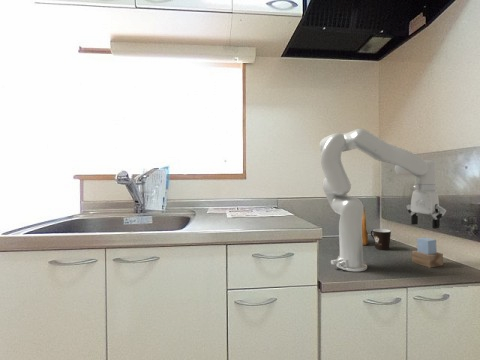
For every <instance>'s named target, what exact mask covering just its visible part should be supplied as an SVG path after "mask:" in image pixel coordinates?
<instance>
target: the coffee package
mask: <svg viewBox="0 0 480 360" xmlns="http://www.w3.org/2000/svg"><path fill="white" fill-rule="evenodd" d="M363 208H364V211H363V218H362V244H363V246H366V245H367V244H369V242H368V241H369V240H368V238H369V237H368V235H369V233H368V231H367V220H366V210H365V206H363Z"/></svg>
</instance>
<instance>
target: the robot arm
mask: <svg viewBox="0 0 480 360" xmlns="http://www.w3.org/2000/svg"><path fill="white" fill-rule="evenodd" d="M318 148H319V151H321V154H320V166H321V169H322V172H323V174H324V176H325V177H324V178H323V181H322V190H323V192H324V194H325V196H326V199H327V201H328V204H329V205H330V208H331V209H332V211H333V212H335V213H336V214H338V215H340V216H339V217H340V218H339V221H338V233H339V234H338V235H339V237H338V240H339V241H338V242H339V244H338V245H339V255H338V256H337V258H336V259H331V260H330V264H331V265H336V267H337V268H338V269H340V270H344V271H348V272H364V271H366V270H367V269H368V265H367V263H365V262H364V254H363V251H364V249H363V247H364V245H363V244H362V218H363V211H364V210H365V207H364V205H363V203H362V201H361V200H360V199H359V198H357V197H355V196H353V195H352V196H351V195H348V193H349V192H350V191H351V187H352V184H351V181H350V178H349V177H348V174H347V172H346V170H345V168H344V166H343V162H342V153H343V152H347V151H351V150H356V149H357V150H359V151H361V152H363V153H364V154H366V155H367V156H369V157H370V158H372V159H373V160H375V161H378V162H381V163H387V164H393V165H395V166H394V172H395V174H397V175H398V176H399V177H404V178H414V185H413V189H414V190H413V191H412V194H411V195H412V196H411V201H410V204H409V203H408V204H407V205H406V206H405V207H406V209H407V213H409V216H410V217H411V219H410V220H411V225H412V226H413V225H418V224H419V223H418V222H419V221H418V220H419V217H418V214H421V215H422V214H423V215H431V217H432V225H431V227H432V229H440V221H441V219H442V218H443V217H444V216H445V214H446V212H447V209H445V208H444V207H442V206H441V205H440V199H439V195H438V191H437V185H436V183H437V181H436V179H437V174H436V173H437V172H436V171H437V164H436V161H435V160H430V159H429V160H424V159H423V158H422V157H420V156H419V155H417V154H415V153H413V152H412V151H409V150H407V149H404V148H402V147H398V146H396V145H392V144H390V143H388V142H386V141H385V140H383V139H381V138H379V137H378V136H376V135H374V134H373V133H371V132H370V131H369V130H366V129H363V128H357V129H356V128H355V129H353V130H351V131H348V132H344V133H341V132H335V133H332V134H330V135H328V136H325V137H323V138H322V139H321V140H320V141H319V147H318ZM363 207H364V208H363Z"/></svg>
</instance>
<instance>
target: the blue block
mask: <svg viewBox="0 0 480 360" xmlns="http://www.w3.org/2000/svg"><path fill="white" fill-rule="evenodd" d="M416 244H417V245H416V246H417V247H416V249H417V250H416V251H417V252H420V253H424V254H428V255H430V254H435V253H437V252H438V251H437V239H434V238H430V237H418V238H416Z"/></svg>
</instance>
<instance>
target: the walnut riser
mask: <svg viewBox="0 0 480 360" xmlns="http://www.w3.org/2000/svg"><path fill="white" fill-rule="evenodd" d="M436 252H437V253H435V254H430V255H428V254H424V253H420V252H417V250H412V251H411V253H412V255H411V258H412V259H411V260H412V263H414V264H417V265H421V266H423V267H426V268H435V267H439V266H441V267H442V266H443V265H444V255H443V253H441V252H438V251H436Z"/></svg>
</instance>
